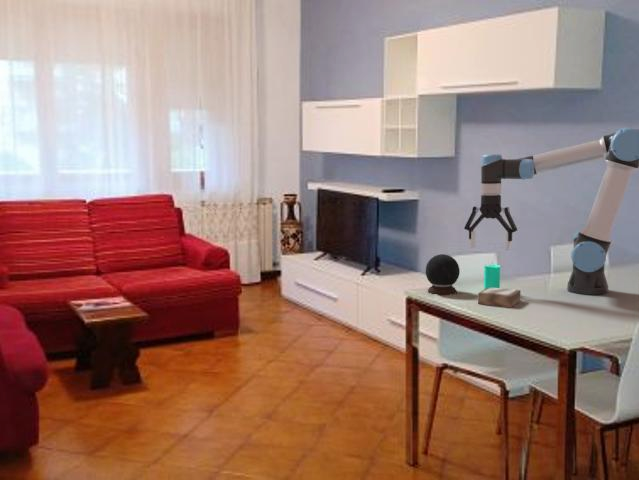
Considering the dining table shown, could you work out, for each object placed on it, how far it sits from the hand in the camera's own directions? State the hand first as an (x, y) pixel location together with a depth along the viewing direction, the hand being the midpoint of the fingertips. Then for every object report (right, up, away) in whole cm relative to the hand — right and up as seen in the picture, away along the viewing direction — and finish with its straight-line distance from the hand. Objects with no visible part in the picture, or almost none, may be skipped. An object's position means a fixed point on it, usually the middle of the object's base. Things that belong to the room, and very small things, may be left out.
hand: (490, 248), depth 280 cm
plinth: (-1, -19, -16) cm, 26 cm away
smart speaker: (-18, -17, +2) cm, 25 cm away
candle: (+1, -17, +1) cm, 17 cm away
